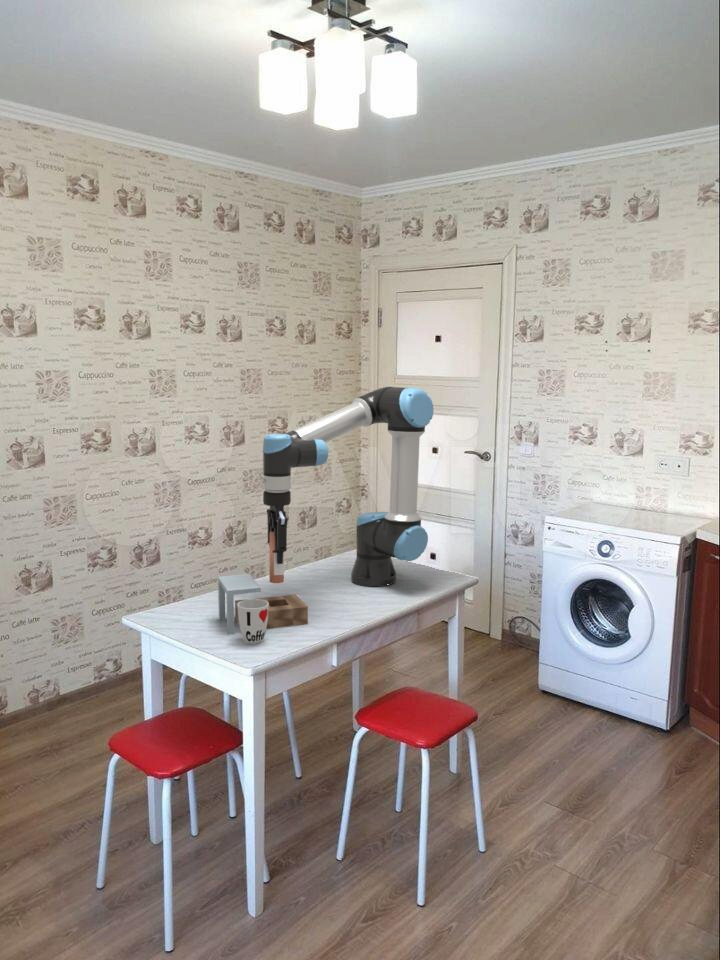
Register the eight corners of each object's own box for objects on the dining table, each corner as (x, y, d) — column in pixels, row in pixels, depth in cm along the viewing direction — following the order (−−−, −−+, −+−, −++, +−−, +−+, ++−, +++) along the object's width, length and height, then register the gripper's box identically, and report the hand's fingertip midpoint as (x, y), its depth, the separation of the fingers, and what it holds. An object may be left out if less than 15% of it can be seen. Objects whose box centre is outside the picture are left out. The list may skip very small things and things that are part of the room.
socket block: (295, 610, 223) (295, 594, 222) (307, 623, 212) (307, 606, 211) (235, 617, 216) (234, 600, 216) (244, 631, 205) (243, 613, 205)
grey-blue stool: (249, 614, 219) (249, 573, 217) (261, 630, 206) (260, 587, 204) (218, 617, 216) (218, 576, 214) (228, 634, 203) (227, 590, 201)
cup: (242, 647, 194) (241, 610, 192) (234, 637, 201) (233, 600, 200) (272, 643, 197) (272, 606, 196) (264, 632, 205) (263, 597, 203)
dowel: (281, 578, 215) (281, 530, 213) (285, 582, 212) (285, 533, 209) (268, 579, 214) (268, 531, 212) (271, 583, 210) (271, 534, 208)
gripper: (256, 485, 215) (256, 565, 219) (271, 496, 200) (271, 581, 203) (282, 484, 218) (282, 563, 222) (298, 494, 202) (298, 579, 206)
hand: (276, 572), depth 212 cm, fingers closed on dowel, 4 cm apart
